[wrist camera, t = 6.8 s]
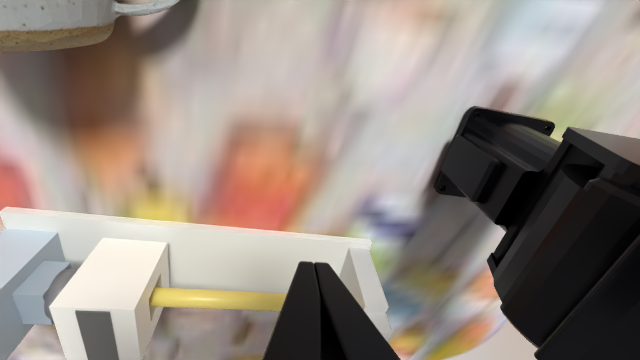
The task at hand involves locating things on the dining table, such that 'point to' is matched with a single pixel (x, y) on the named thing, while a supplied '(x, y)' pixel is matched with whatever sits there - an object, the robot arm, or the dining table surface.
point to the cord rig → (171, 265)
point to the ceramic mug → (64, 22)
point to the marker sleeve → (112, 301)
